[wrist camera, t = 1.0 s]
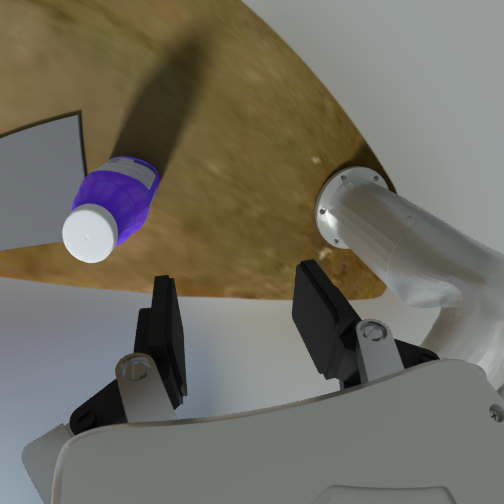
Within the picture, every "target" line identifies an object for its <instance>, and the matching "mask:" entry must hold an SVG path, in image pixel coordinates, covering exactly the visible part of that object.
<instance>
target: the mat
mask: <svg viewBox="0 0 504 504" xmlns="http://www.w3.org/2000/svg"><path fill="white" fill-rule="evenodd" d="M85 177H86V174H85V166H84V159H83V150H82V140H81V129H80V115H75V116H71V117H67V118H63V119H59V120H56V121H52V122H48V123H45V124H41V125H38V126H35V127H32V128H29V129H25V130H22V131H19V132H17V133H14V134H11V135H8V136H5V137H3V138H0V250H7V249H13V248H20V247H26V246H33V245H40V244H47V243H55V242H62V241H63V234H62V231H63V226H64V223H65V221H66V219H67V217H68V216H69V215H70V214H71V212H72V204H73V202H74V199H75V197H76V195H77V194H78V190H79V187H80V186H81V184H82V181H83V180H84V178H85Z"/></svg>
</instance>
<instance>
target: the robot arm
mask: <svg viewBox="0 0 504 504" xmlns="http://www.w3.org/2000/svg"><path fill="white" fill-rule="evenodd" d="M341 176H342V177H341ZM320 210H321V211H320ZM315 221H316V225H317V228H318V230H319V232H320V234H321V235H322V236H323V237H324V239H325V240H326V241H328V242H329V243H330V244H331V245H333V246H335V247H338V248H344V249H351V250H352V251H353V252H354V253H355V254H356V255H357V256H358V257H359V258H360V259H361V260H362V261H363V262H364V263H365V264H366V265H367V266H368V267H369V268H370V269H371V270H372V271H373V272H374V273H375V274H376V275H377V276H378V277H379V278H380V279H381V280H382V281H383V282H384V283H385V284H386V285H387V286H388V287H389V289H390V290H391V291H392V292H394V294H395V295H396V296H397V297H398V298H399V299H401V300H402V301H403V302H405V303H406V304H408V305H411V306H413V307H419V308H431V307H439V306H441V311H440V314H439V316H438V318H437V319H436V321H435V323H434V324H433V327H432V329H431V330H430V332H429V333H428V335H427V336H426V338H425V339H424V341H423V342H422V344H421V345H420V346H415V345H412V344H409V343H406V342H403V341H400V340H397V339H394V338H393V336H392V333H391V330H390V329H389V327H388V326H387V325H386V324H385V323H383V322H381V321H379V320H375V319H365V320H361V318H360V317H359V316H358V314H357V313H356V312H355V310H354V309H353V308H352V306H351V305H350V304H349V302H348V301H347V300H346V298H345V297H344V296H343V294H342V293H341V292H340V290H339V289H338V288H337V287H336V286H334V285H333V283H332V282H331V281H330V279H329V278H328V277H327V276H326V274H325V273H324V272H323V270H322V269H321V268H320V266H319V265H318V264H317V262H316V261H315V260H305V261H301V263H300V264H299V265H297V267H296V276H295V287H294V297H293V307H292V317H293V320H294V323H295V324H296V327H297V329H298V331H299V333H300V335H301V337H302V339H303V341H304V343H305V345H306V347H307V349H308V352H309V354H310V356H311V358H312V360H313V362H314V364H315V366H316V368H317V370H318V372H319V373H320V374H323V375H324V377H325V379H326V380H328V379H332V378H336V379H339V384H340V391H337V392H333V393H329V394H326V395H322V396H318V397H314V398H310V399H306V400H302V401H297V402H293V403H288V404H284V405H279V406H274V407H269V408H263V409H258V410H252V411H247V412H240V413H233V414H227V415H219V416H210V417H201V418H191V419H180V420H178V418H177V416H176V414H175V411H174V410H175V409H176V408H177V407H178V406H179V405H180V404H183V396H187V384H186V370H185V353H184V334H183V326H182V321H181V316H180V310H179V305H178V299H177V294H176V288H175V282H174V278H169V276H168V275H163V276H155V281H154V289H153V297H152V306H151V308H143V309H140V311H139V316H138V322H137V329H136V337H135V344H134V353H132V354H129V355H126V356H125V357H123V358H122V359H120V361H119V362H118V364H117V365H116V368H115V370H116V371H115V372H116V379H115V380H114V381H112V382H111V383H110V384H108V385H107V386H106V387H105V388H103V389H102V390H101V391H99V392H98V393H97V394H95V395H94V396H93V397H91V398H90V399H89V400H87V401H86V402H85V403H84V404H82V405H81V406H80V407H78V408H77V409H76V410H75V411H74V412H73V413H72V415H71V417H70V422H69V423H68V424H66V425H64V424H63V423H62V424H60V425H59V426H57V427H56V428H54V429H52V430H51V431H49V432H47V433H46V434H44V435H43V436H41V437H39V438H38V439H36V440H34V441H32V442H31V443H29V444H28V445H27V446H26V447H24V449H23V452H22V461H23V464H24V466H25V468H26V470H27V472H28V474H29V476H30V478H31V480H32V482H33V484H34V486H35V488H36V489H37V491H38V493H39V495H40V497H41V498H42V500H43V502H44V504H504V254H502V253H500V252H497V251H495V250H493V249H491V248H489V247H487V246H485V245H483V244H481V243H480V242H478V241H476V240H474V239H472V238H471V237H469V236H467V235H465V234H464V233H462V232H460V231H459V230H457V229H455V228H454V227H452V226H450V225H449V224H447V223H445V222H444V221H442V220H441V219H439V218H437V217H435V216H434V215H432V214H430V213H429V212H427V211H425V210H424V209H422V208H420V207H418V206H417V205H415V204H413V203H411V202H409V201H408V200H406V199H404V198H402V197H401V196H399V195H397V194H395V193H393V192H391V191H389V190H388V186H387V184H386V182H385V181H384V179H383V178H382V177H381V176H380V175H379V174H378V173H377V172H375V171H374V170H372V169H369V168H366V167H363V166H352V167H347V168H344V169H342V170H340V171H338V172H337V173H335V174H334V175H333V176H332V177H331V178H329V179H328V180H327V182H326V183H325V184H324V186H323V187H322V189H321V191H320V193H319V195H318V198H317V201H316V205H315Z"/></svg>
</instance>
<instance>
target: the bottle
mask: <svg viewBox="0 0 504 504" xmlns="http://www.w3.org/2000/svg"><path fill="white" fill-rule="evenodd" d="M158 185H159V175H158V172H157V170H156V169H155V168H154V167H153V166H152V165H151V164H149V163H147V162H146V161H143V160H141V159H138V158H134V157H128V156H118V157H114V158H112V159H110V160H109V161H107V162H106V163H105V164H103V165H102V166H100V167H99V168H97V169H96V170H94V171H93V172H91V173H90V174H88V175H87V176H86V177H85V178H84V180H83V181H82V184H81V186H80V187H79V190H78V194H77V195H76V197H75V199H74V202H73V204H72V212H71V214H70V215H69V216H68V217H67V219H66V221H65V223H64V226H63V231H62V234H63V241H64V243H65V246H66V248H67V249H68V251H69V252H70V253H71V254H72V255H73V256H74V257H76V258H77V259H79V260H81V261H84V262H88V263H95V262H99V261H102V260H103V259H105V258H106V257H107V256H108V255H109V254H110V253H111V251H112V249H113V248H114V246H116V245H119V244H121V243H123V242H124V241H125V240H126V239H127V238H128V237H129V236H130V235H131V234H132V233H134V232H136V231H137V230H138V229H139V228H140V227H141V226H142V225H143V224H144V222H145V220H146V218H147V215H148V213H149V210H150V207H151V205H152V202H153V200H154V197H155V194H156V192H157V189H158Z"/></svg>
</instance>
